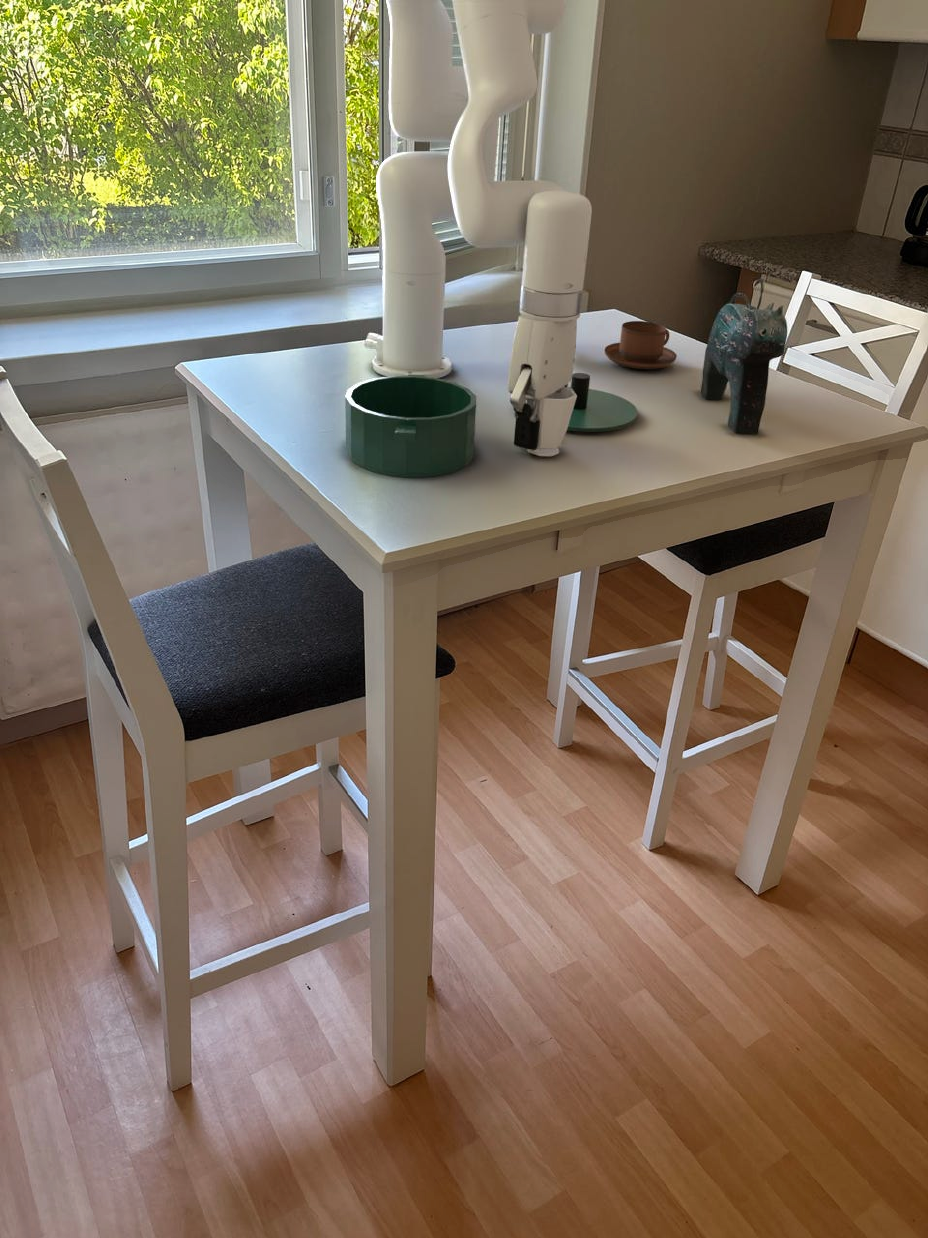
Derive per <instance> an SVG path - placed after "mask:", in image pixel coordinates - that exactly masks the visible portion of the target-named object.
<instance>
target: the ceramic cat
mask: <svg viewBox="0 0 928 1238" xmlns="http://www.w3.org/2000/svg"><path fill="white" fill-rule="evenodd" d="M759 284H760V295H759V298H758V303H757V307H756V306H753V305H751V302H750V300H749V298H748V296H747V294H745V293H742V292H737V293H735V294H734V295H733V296H731V299H730V300H729V302H728V303H726V304H725V305H724V306H722V307H721V308H720V310H719V311H718V312H717V314H716V317H715V319H714V321H713V324H712V327H711V330H710V333H709V335H708V336H709V337H708V340H707V344H706V347H705V351H704V360H703V367H702V374H701V375H702V377H701V384H700V394H701V396H702V397H703V398H704V399H705V400H715V401H716V400H717V401H719V400H722V399H724V396H725V393H726V390H727V387H728V386H729V392H730V393H729V394H730V409H729V414H728V418H727V419H728V420H727V427H728V428H729V429H731V430H732V432H733V433H734V434H736V435H758V434H759V431H760V430H759V429H760V425H761V420H762V416H763V413H764V410H765V407H766V398H767V397H766V396H767V390H768V383H769V370H770V362H771V360H773V359H777V358H780V357H783V355H784V353H785V348H786V343H787V338H788V322H787V319H786V316H785V315H784V314H783V313H784V311H783V309H784V305H781V306H779V307H778V306H777V308H775V309H774V310H773V308H774V306H775V303H774V302H772V303H770V304H769V305H767V306H766V307H765V308H764V309H760V307H761V304H762V299H763V293H764V290H765V286H764V279H763V278H758V279H757V280H756V281H755V283H754V284H753V286H754V287H757V285H759ZM738 297H741V298H744V300H745V303H746V304H743V303H733V302H734V301H736V299H737V298H738Z"/></svg>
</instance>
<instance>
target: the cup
mask: <svg viewBox="0 0 928 1238" xmlns="http://www.w3.org/2000/svg"><path fill="white" fill-rule="evenodd" d="M567 387H568V386H567ZM567 387H562V389H561V392H560V393H557V391H556V392H554V393H552V394H550V395H549V396H547V397H545V398H543V399H541V400H540V402H539V414H538V418H537V420H539V421H540V426H539V436H538V446H537V449H536V450H534V451H532V450H529V449H526V450H527V452H528V453H529V454H532V455H536V456H539V457H554V456H556V455H558V454H560V450H559V448H558V447H560V446H561V445H562V443H563V440H564V438H565V436H566V433H567V431H568V430H567V428H568V424H569V421H570V418H571V414H572V411H573V408H574V405H575V401H576V398H577V395H576V394H575V392H574V391H573V389H570V388H567ZM526 394H529V395H533V396H534V395H535V391H532V390H528V391H527V393H526ZM533 403H534V401H533V400H529V399H526V404H529V406H530V407H531V409H532V407H533Z"/></svg>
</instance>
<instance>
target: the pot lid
mask: <svg viewBox="0 0 928 1238" xmlns="http://www.w3.org/2000/svg"><path fill="white" fill-rule="evenodd" d="M590 382H591V375H590V374H588V373H585V372H574V373H573V374H572V378H571V380H570V386H567V387H568V388H570V389H573V391H574V392H575V394H576V395H577V398H576V401H575V405H574V408H573V411H572V414H571V418H570V421H569V424H568V428H567V431H571V432H584V433H585V432H586V433H588V432H589V433H591V432H592V433H593V432H594V433H595V432H608V431H615V430H619V429H623V428H625V427H628V426H630V425H632V424H634V422H636V420H637V418H638V414H639V412H638V409H637V407H636V406H635V405H634V404H633V403H632V402H631V401H629V400H628V399H626V398H623V397H622V396H619V395H616V394H614V393H610V392H607V391H603V390H598V389H592V388H590Z"/></svg>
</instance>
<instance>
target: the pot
mask: <svg viewBox="0 0 928 1238" xmlns="http://www.w3.org/2000/svg"><path fill="white" fill-rule="evenodd" d="M344 397H345V401H344V402H345V403H344V404H345V448H346V449H345V450H346V452H347V456H348V458H349V459H350V460H351V462H352V463H354V464H355V465H357V466H359V468H363V469H364V470H367V471H370V472H373V473H375V474H380V475H385V476H390V477H398V478H399V477H400V478H430V477H431V478H432V477H438V476H443V475H447V474H451V473H455V472H457V471H460V470H462V469H463V468H465V467H467V466H468V465H469V464H470V463H471V462H472V460H473V458H474V453H475V451H474V450H475V436H476V435H475V433H476V417H477V395H476V394H475V393H474V392H473V391H472V390H471V389H470V388H468V387H466V386H464V385H462V384H460V383H457V382H455V381H451V380H447V379H442V378H431V377H425V375H410V374H408V376H389V377H386V376H381V377H374V378H371V379H367V380H363V381H360V382H358V383H356V384H354V385H352V386H351V387H350V388H348V389H347V391H346V394H345V396H344Z"/></svg>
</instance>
